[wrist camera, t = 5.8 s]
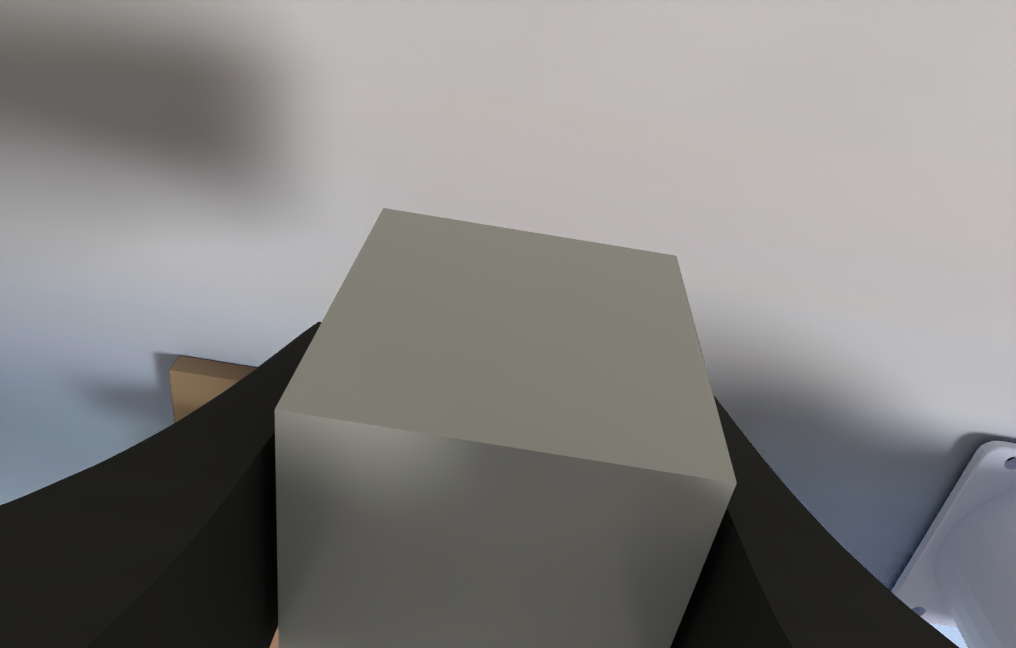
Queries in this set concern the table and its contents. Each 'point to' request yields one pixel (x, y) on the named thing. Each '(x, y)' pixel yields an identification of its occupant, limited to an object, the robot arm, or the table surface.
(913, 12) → the table surface
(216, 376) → the frame
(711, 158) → the table surface
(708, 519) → the pale sage cube
